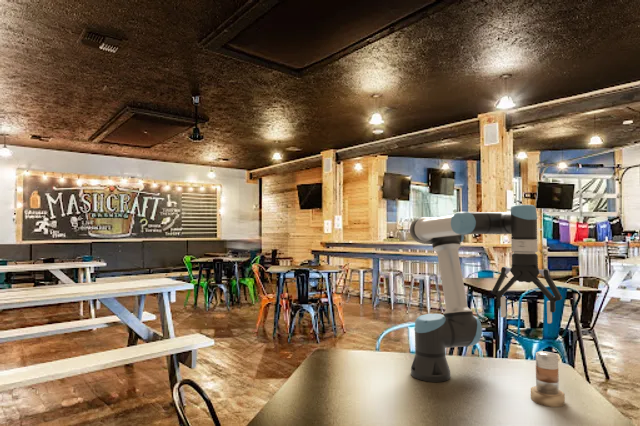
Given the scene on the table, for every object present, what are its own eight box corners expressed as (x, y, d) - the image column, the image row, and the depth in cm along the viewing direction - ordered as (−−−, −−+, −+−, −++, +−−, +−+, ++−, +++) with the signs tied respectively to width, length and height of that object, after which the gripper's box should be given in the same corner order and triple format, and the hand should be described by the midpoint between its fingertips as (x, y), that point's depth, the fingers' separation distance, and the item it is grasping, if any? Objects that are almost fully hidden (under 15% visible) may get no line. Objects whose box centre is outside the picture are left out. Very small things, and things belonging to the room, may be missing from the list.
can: (533, 391, 139) (533, 354, 139) (538, 385, 144) (538, 349, 144) (556, 396, 134) (555, 358, 135) (560, 390, 140) (559, 353, 140)
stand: (527, 401, 138) (527, 391, 139) (534, 392, 146) (534, 383, 146) (561, 409, 132) (561, 399, 132) (567, 399, 140) (567, 390, 140)
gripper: (480, 252, 138) (482, 316, 137) (566, 254, 122) (568, 327, 121) (488, 251, 144) (489, 312, 143) (571, 253, 128) (573, 323, 127)
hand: (525, 319), depth 132 cm, fingers open, 13 cm apart
